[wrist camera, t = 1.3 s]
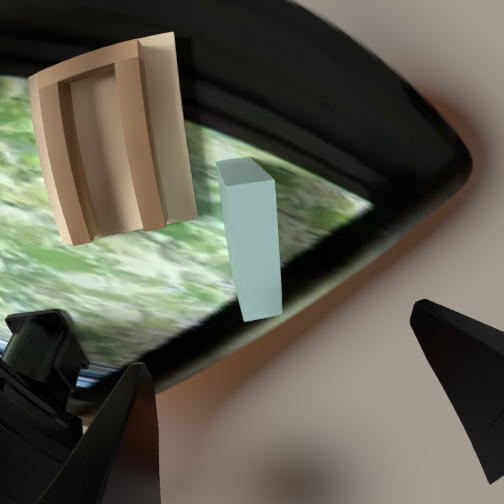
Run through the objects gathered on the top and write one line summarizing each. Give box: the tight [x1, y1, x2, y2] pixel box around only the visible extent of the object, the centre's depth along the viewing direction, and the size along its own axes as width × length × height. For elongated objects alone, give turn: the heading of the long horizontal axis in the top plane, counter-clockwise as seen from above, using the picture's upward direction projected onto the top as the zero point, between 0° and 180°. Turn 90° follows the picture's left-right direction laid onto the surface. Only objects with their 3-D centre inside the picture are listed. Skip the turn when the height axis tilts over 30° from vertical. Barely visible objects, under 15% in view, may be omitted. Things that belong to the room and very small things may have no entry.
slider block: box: [216, 157, 282, 322], centre depth 16 cm, size 2×7×6 cm, turn 5°
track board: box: [28, 32, 198, 246], centre depth 14 cm, size 9×11×3 cm
